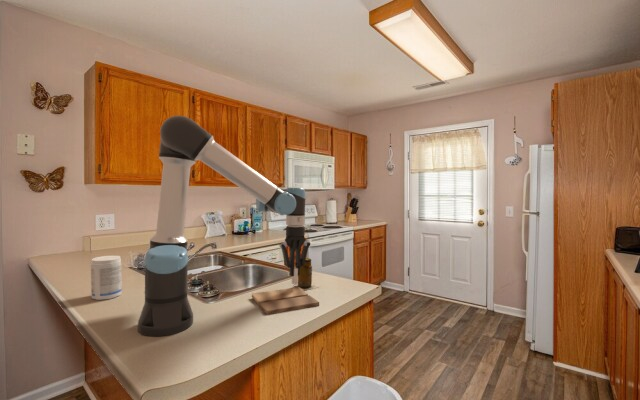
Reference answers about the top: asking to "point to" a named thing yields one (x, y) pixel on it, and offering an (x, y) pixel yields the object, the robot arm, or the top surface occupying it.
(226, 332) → the top surface
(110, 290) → the supplement tub
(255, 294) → the board
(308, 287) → the condiment
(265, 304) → the floor board
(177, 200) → the robot arm
